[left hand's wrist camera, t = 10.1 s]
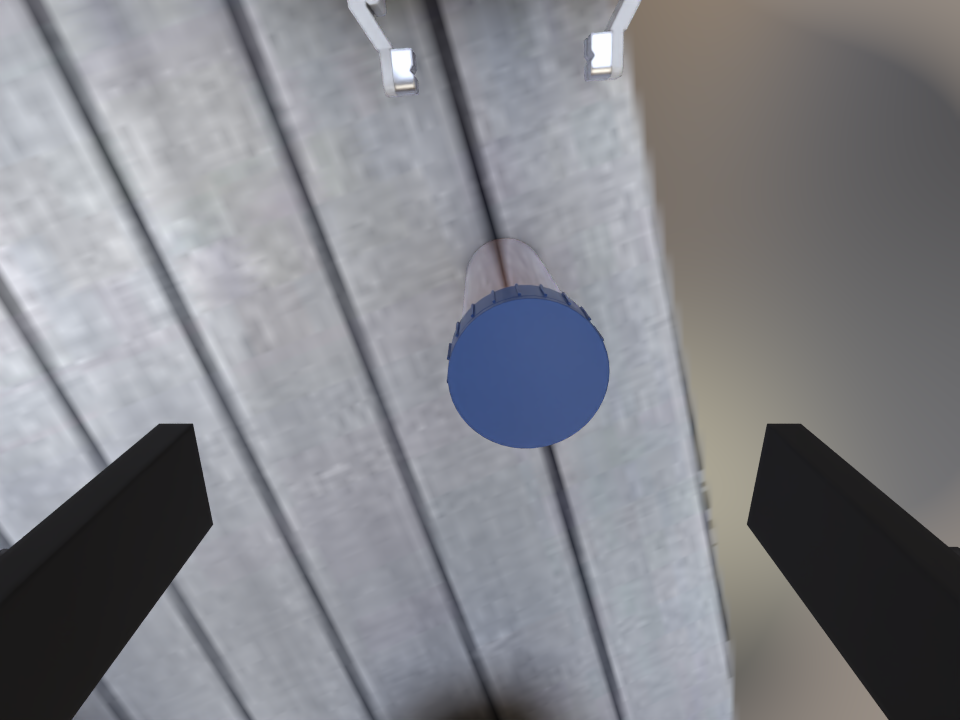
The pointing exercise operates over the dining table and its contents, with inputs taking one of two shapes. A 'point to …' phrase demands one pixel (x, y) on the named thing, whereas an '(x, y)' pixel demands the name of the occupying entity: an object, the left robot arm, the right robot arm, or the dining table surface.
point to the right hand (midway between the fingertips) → (502, 87)
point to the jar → (503, 270)
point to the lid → (527, 367)
